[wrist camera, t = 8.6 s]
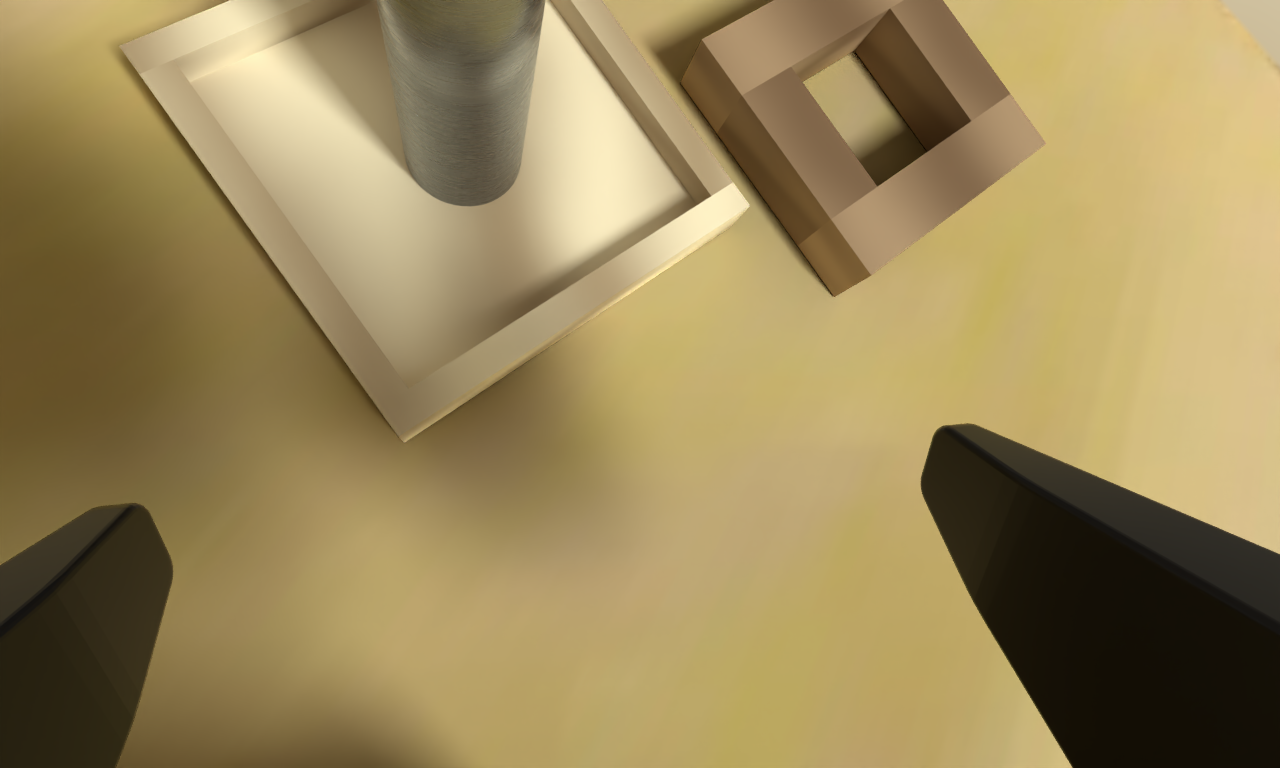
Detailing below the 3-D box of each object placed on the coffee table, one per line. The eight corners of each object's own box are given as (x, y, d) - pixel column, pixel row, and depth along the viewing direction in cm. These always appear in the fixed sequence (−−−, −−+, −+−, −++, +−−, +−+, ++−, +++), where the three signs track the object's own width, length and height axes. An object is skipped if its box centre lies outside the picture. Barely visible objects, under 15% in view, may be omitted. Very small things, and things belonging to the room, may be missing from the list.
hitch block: (834, 297, 21) (871, 275, 19) (680, 82, 21) (701, 39, 19) (998, 173, 23) (1046, 143, 21) (860, -19, 23) (895, -66, 21)
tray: (404, 443, 17) (398, 436, 16) (148, 84, 17) (119, 46, 16) (730, 227, 20) (750, 205, 19) (514, -74, 20) (517, -118, 19)
